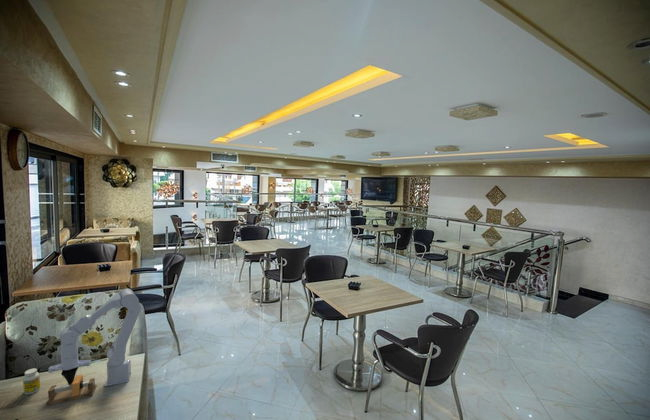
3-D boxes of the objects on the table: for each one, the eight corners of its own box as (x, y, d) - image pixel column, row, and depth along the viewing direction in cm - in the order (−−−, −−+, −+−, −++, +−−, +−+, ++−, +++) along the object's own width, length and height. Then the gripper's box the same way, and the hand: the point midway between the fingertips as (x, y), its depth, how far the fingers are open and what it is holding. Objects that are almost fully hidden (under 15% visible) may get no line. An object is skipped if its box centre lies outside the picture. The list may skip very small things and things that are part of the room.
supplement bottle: (41, 385, 141) (40, 365, 140) (38, 392, 137) (37, 372, 135) (25, 389, 138) (24, 369, 137) (22, 396, 134) (21, 376, 132)
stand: (96, 385, 142) (96, 375, 141) (92, 396, 136) (91, 385, 135) (53, 394, 136) (52, 383, 135) (46, 405, 129) (45, 394, 129)
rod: (94, 383, 139) (94, 378, 139) (92, 386, 137) (92, 381, 137) (51, 391, 133) (50, 386, 133) (49, 394, 131) (48, 390, 131)
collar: (83, 386, 139) (82, 374, 139) (78, 395, 134) (78, 383, 133) (76, 387, 139) (76, 375, 138) (72, 396, 133) (71, 384, 132)
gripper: (92, 347, 140) (93, 374, 141) (52, 353, 134) (54, 381, 136) (87, 355, 133) (88, 384, 135) (45, 362, 128) (47, 391, 129)
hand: (71, 383), depth 135 cm, fingers closed
